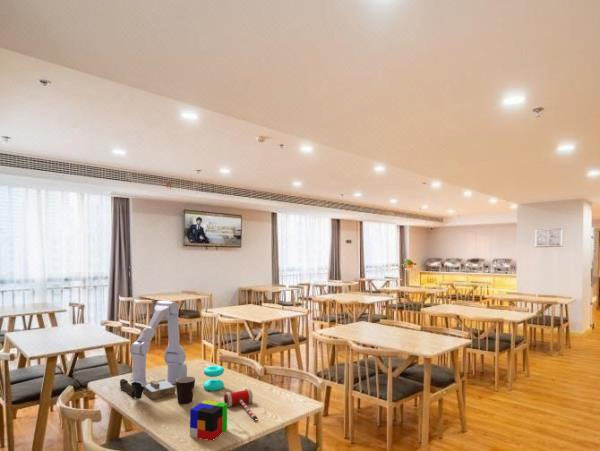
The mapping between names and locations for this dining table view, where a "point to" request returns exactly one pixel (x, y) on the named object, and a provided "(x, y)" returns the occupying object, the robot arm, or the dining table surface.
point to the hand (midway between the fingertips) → (138, 398)
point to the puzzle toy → (208, 419)
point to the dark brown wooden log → (127, 387)
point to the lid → (158, 385)
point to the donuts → (213, 383)
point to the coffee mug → (185, 389)
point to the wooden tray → (159, 392)
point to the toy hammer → (240, 399)
